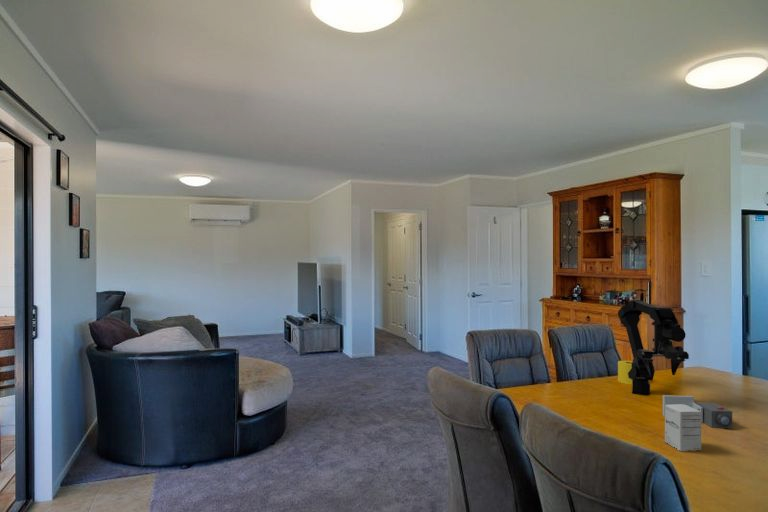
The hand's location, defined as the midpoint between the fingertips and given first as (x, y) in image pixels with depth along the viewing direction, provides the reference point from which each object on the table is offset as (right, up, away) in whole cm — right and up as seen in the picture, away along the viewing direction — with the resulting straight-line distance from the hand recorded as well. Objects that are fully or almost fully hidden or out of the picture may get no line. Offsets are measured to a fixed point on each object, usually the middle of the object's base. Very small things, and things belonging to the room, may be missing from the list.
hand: (662, 374), depth 193 cm
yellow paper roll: (+4, -12, +34) cm, 36 cm away
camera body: (+5, -12, -23) cm, 27 cm away
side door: (-4, -12, -19) cm, 23 cm away
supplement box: (-20, -12, -44) cm, 50 cm away
